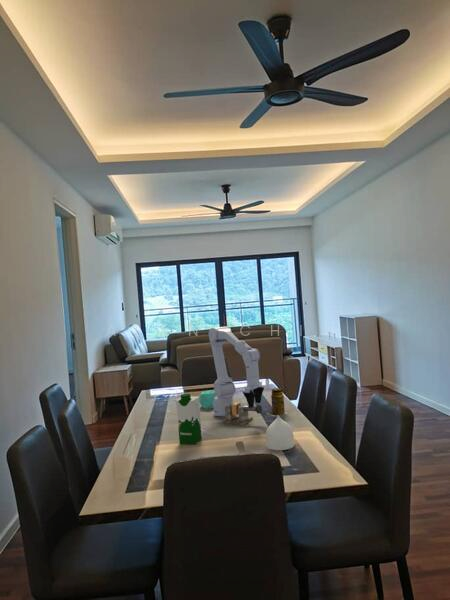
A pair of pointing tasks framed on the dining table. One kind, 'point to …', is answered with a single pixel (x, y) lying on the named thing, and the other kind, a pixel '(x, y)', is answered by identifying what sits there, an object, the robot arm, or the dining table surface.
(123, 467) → the dining table surface
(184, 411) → the milk carton
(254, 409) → the shaft
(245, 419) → the bearing stand
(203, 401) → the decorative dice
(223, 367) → the robot arm
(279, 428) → the teardrop
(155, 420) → the dining table surface
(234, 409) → the block
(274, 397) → the condiment
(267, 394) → the dining table surface
